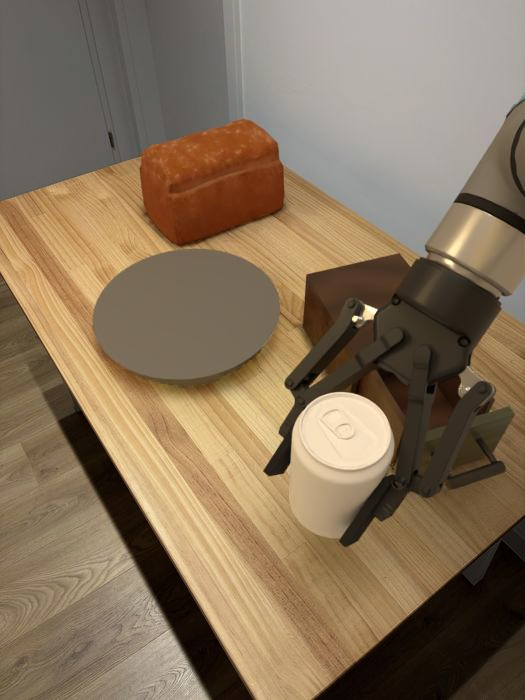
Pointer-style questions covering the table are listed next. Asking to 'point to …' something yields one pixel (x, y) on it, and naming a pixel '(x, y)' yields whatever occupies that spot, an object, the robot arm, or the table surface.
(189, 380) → the flat disc
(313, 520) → the beverage can
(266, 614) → the table surface
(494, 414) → the drawer
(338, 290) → the cabinet
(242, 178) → the bread
